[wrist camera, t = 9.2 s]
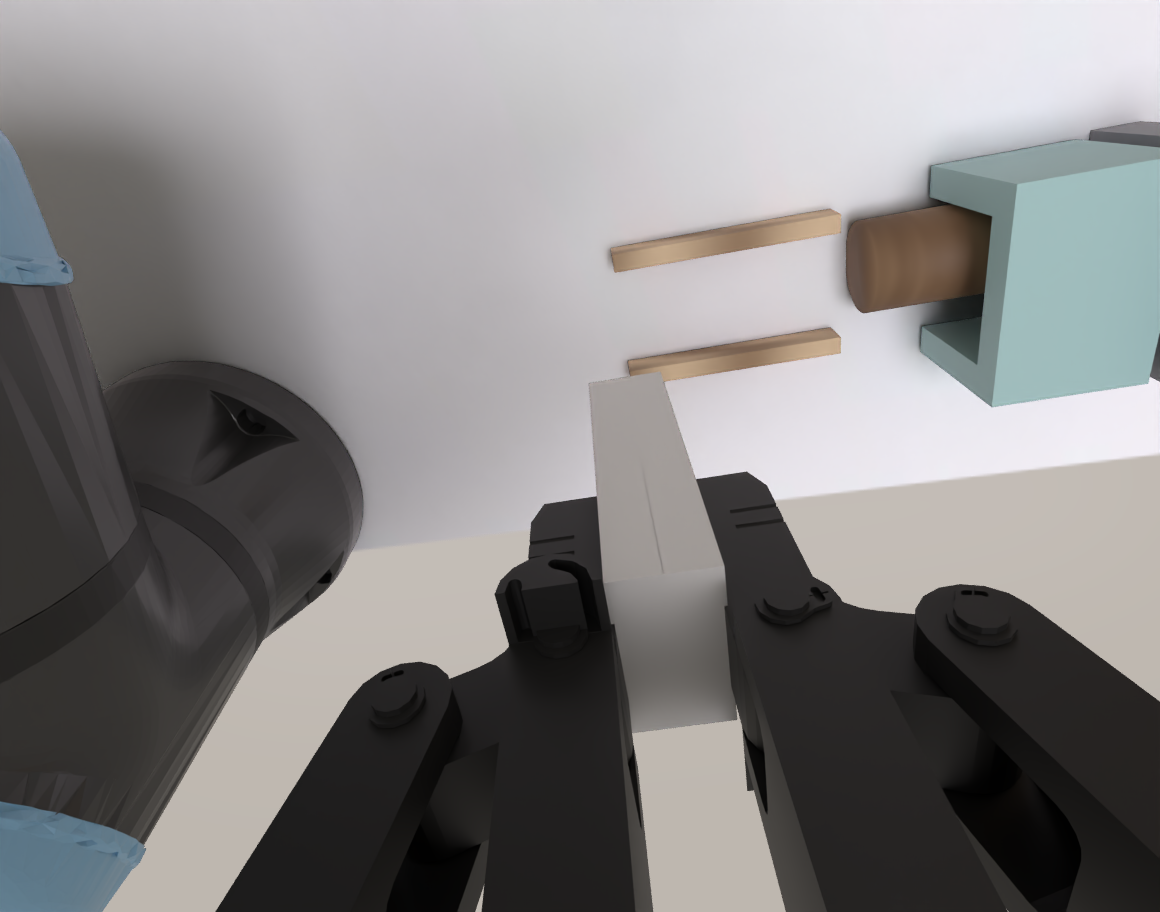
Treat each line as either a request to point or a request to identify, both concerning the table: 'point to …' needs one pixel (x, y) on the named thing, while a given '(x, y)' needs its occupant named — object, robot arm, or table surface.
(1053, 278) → the block
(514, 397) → the table surface
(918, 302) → the dowel
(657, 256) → the rails
